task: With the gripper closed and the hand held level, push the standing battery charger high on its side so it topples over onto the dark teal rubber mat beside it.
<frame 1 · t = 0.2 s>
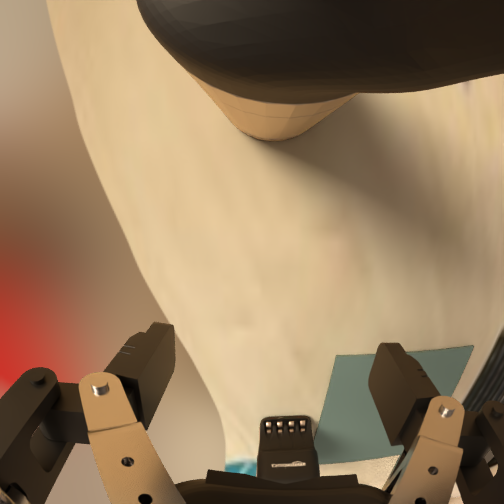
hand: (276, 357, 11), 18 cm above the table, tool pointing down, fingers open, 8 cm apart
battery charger: (285, 419, 35), on the table
mat: (388, 415, 34), on the table
geometric ball: (454, 469, 41), on the table
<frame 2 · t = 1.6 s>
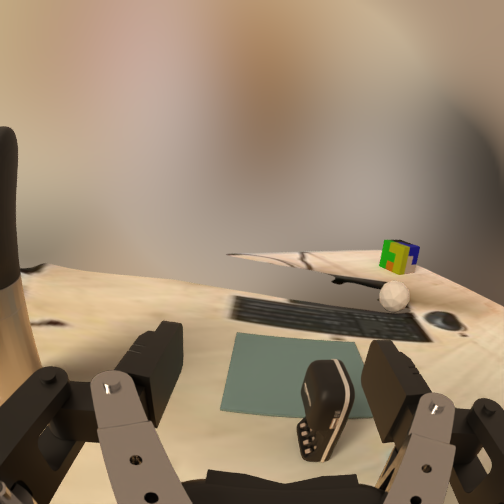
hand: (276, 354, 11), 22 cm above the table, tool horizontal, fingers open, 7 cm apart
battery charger: (307, 444, 30), on the table
mat: (300, 372, 44), on the table
geometric ball: (390, 311, 69), on the table
puzzle toy: (396, 270, 104), on the table
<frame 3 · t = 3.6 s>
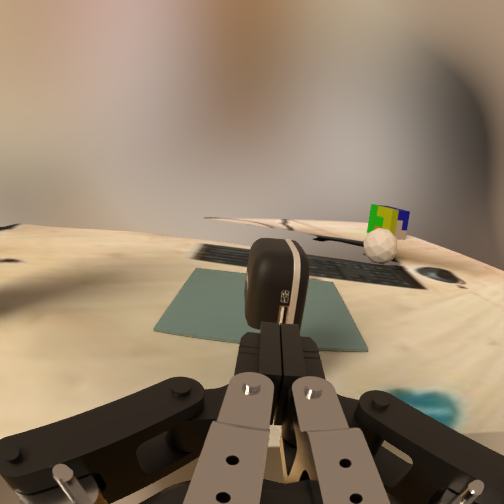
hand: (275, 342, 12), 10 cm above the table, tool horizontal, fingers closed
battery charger: (260, 375, 25), on the table
mat: (263, 303, 39), on the table
geometric ball: (377, 263, 64), on the table
puzzle toy: (386, 236, 99), on the table
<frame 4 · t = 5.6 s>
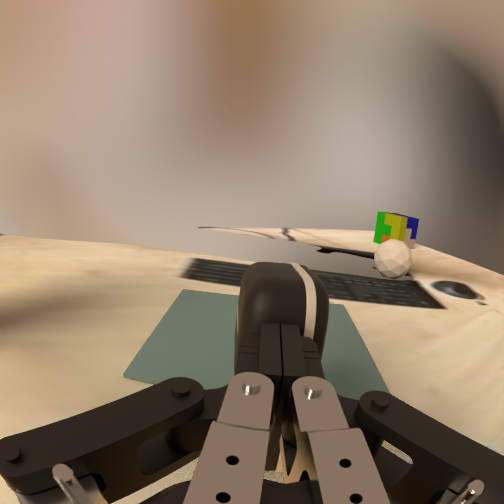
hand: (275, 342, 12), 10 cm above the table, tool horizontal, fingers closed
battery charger: (257, 440, 17), on the table, touching gripper
mat: (262, 336, 31), on the table
geometric ball: (389, 278, 56), on the table
puzzle toy: (393, 246, 92), on the table
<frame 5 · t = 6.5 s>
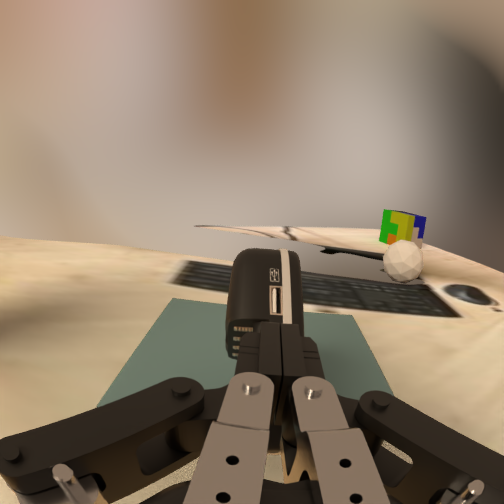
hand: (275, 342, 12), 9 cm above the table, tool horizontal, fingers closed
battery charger: (255, 457, 13), point 3 cm above the table
mat: (260, 357, 26), on the table
geometric ball: (399, 282, 51), on the table
puzzle toy: (400, 245, 87), on the table
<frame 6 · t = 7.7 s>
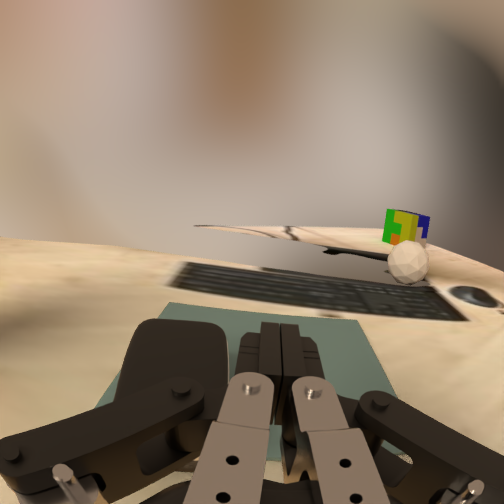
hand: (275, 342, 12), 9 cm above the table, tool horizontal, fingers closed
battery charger: (165, 467, 12), point 1 cm above the table, touching mat
mat: (261, 367, 25), on the table
geometric ball: (403, 283, 49), on the table
puzzle toy: (403, 245, 85), on the table
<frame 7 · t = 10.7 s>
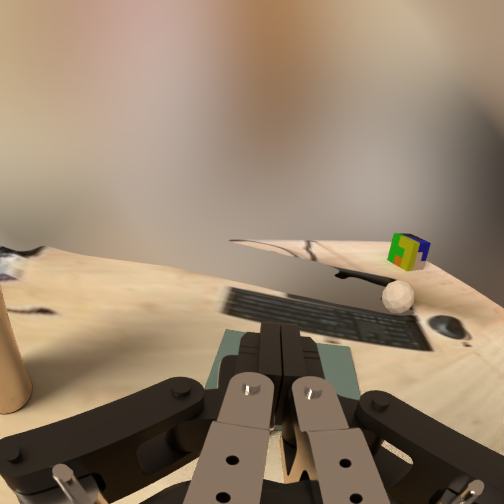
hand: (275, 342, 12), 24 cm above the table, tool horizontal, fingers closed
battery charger: (243, 434, 30), point 1 cm above the table, touching mat
mat: (286, 379, 42), on the table
geometric ball: (393, 312, 65), on the table
puzzle toy: (405, 265, 98), on the table
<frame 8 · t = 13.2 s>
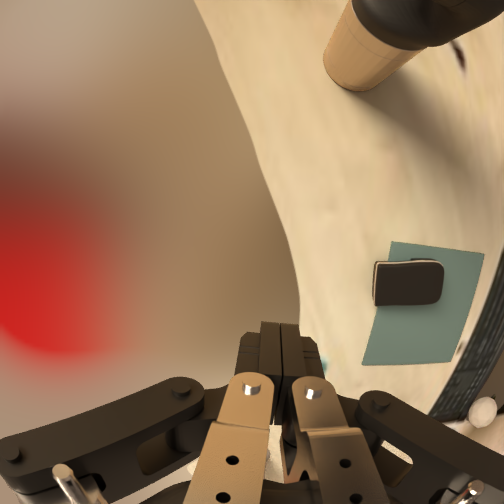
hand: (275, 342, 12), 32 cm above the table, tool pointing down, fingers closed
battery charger: (372, 282, 43), point 1 cm above the table, touching mat
mat: (427, 310, 45), on the table
geometric ball: (475, 402, 51), on the table
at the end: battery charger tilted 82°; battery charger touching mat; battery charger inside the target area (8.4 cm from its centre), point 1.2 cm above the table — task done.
